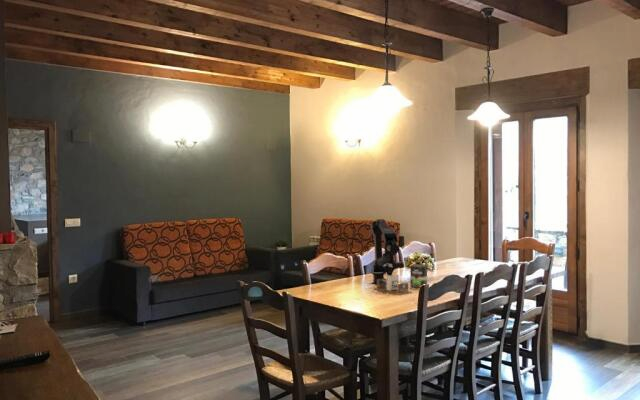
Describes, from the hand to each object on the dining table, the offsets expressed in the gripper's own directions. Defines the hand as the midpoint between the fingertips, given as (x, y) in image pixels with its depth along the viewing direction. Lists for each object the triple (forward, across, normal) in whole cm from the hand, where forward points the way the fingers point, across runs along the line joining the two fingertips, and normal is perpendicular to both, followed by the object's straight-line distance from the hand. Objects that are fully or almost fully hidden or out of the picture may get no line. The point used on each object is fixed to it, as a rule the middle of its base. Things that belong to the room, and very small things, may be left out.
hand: (389, 277), depth 319 cm
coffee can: (+8, +6, +19) cm, 22 cm away
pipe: (+8, +2, 0) cm, 8 cm away
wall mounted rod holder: (+8, +2, 0) cm, 8 cm away
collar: (+8, +3, 0) cm, 8 cm away
